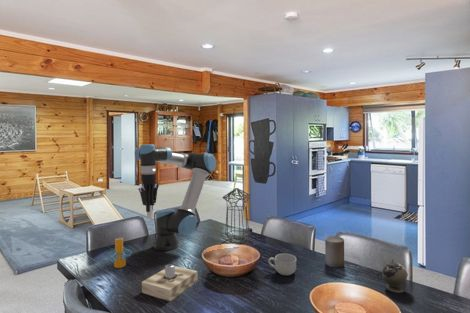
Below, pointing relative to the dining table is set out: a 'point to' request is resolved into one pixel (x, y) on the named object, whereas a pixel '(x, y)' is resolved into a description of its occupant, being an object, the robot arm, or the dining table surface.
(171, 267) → the grey metal peg
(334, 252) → the pillar candle
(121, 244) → the orange post with rings
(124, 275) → the dining table surface
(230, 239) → the geometric lantern
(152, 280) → the jig
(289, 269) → the teacup
